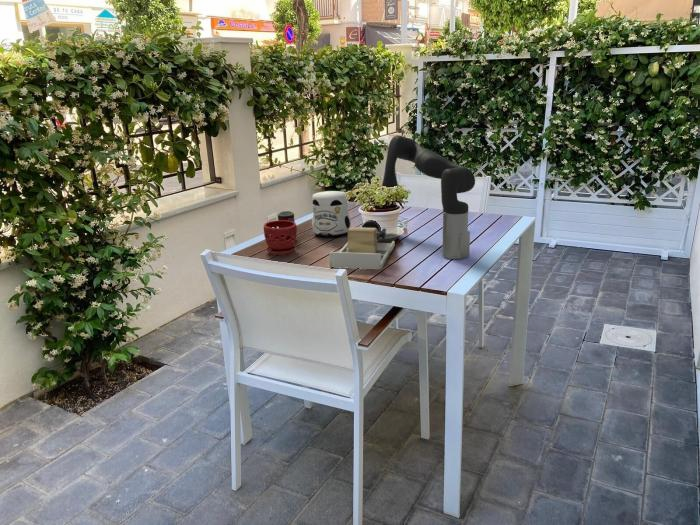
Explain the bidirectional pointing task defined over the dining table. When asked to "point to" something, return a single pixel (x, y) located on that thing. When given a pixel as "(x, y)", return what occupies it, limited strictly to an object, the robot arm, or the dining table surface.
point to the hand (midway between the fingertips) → (363, 238)
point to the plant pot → (280, 237)
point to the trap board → (361, 257)
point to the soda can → (286, 216)
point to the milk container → (330, 214)
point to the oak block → (362, 240)
